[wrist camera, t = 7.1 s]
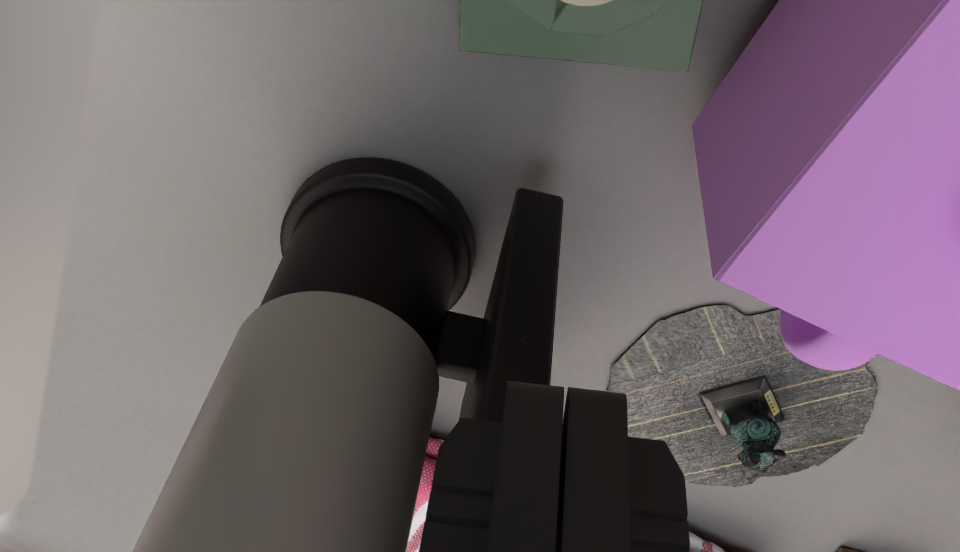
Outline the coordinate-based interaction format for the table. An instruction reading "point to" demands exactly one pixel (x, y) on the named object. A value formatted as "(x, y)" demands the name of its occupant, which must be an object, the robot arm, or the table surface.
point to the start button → (586, 2)
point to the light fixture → (357, 366)
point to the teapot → (843, 180)
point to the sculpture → (737, 397)
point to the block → (584, 31)
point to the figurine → (846, 550)
